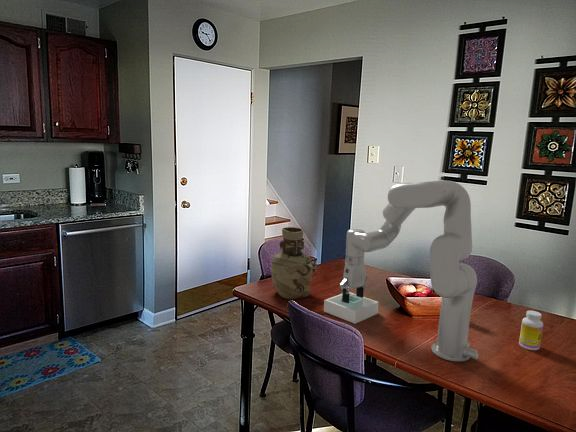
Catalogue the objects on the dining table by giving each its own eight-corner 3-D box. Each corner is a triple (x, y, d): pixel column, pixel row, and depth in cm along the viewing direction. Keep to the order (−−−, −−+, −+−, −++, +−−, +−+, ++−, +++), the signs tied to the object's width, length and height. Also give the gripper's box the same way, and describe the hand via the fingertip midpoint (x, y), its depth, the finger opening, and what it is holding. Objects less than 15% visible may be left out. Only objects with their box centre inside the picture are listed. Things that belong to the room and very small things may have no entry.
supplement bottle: (539, 352, 152) (544, 318, 150) (518, 347, 155) (522, 313, 153) (540, 345, 158) (545, 312, 155) (519, 340, 161) (524, 307, 159)
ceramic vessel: (314, 302, 190) (318, 236, 185) (267, 298, 192) (269, 232, 187) (316, 288, 209) (319, 227, 204) (273, 284, 211) (275, 224, 206)
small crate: (362, 310, 181) (362, 299, 180) (352, 314, 176) (353, 302, 175) (349, 305, 185) (350, 294, 184) (340, 309, 181) (340, 298, 180)
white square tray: (377, 313, 181) (378, 302, 180) (354, 323, 170) (355, 311, 169) (347, 302, 192) (347, 291, 191) (323, 311, 181) (324, 300, 180)
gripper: (349, 265, 168) (347, 307, 171) (374, 257, 180) (372, 297, 183) (334, 261, 173) (332, 302, 176) (359, 254, 185) (357, 292, 188)
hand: (352, 299), depth 180 cm, fingers open, 9 cm apart
